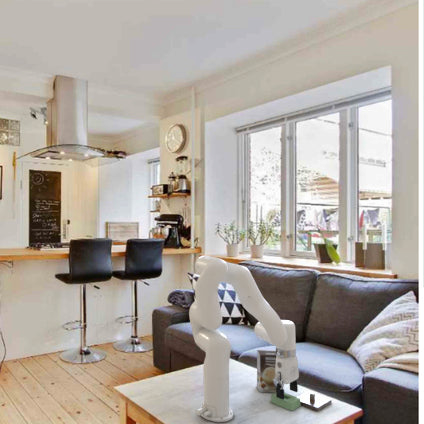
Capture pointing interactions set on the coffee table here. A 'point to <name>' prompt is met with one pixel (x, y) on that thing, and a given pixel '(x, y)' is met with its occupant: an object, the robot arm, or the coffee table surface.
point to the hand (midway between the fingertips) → (287, 394)
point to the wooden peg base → (314, 401)
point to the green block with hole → (286, 401)
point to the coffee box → (266, 370)
